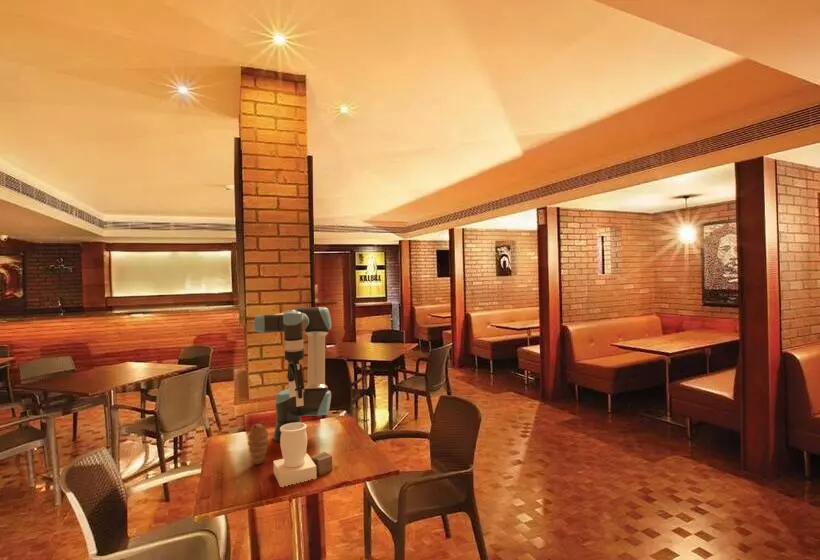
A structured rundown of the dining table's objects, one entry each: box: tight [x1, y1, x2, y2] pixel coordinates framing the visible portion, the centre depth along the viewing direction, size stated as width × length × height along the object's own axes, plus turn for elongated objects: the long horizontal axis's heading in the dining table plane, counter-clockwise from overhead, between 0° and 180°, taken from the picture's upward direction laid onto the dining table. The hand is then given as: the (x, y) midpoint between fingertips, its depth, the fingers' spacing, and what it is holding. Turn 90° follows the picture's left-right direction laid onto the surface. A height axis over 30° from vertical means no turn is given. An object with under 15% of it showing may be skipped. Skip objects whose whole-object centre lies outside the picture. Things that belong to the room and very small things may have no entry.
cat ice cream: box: [247, 420, 269, 465], centre depth 186 cm, size 9×8×18 cm
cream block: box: [273, 452, 318, 488], centre depth 174 cm, size 14×14×5 cm
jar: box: [279, 422, 308, 467], centre depth 174 cm, size 11×10×15 cm
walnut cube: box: [311, 451, 333, 476], centre depth 178 cm, size 6×6×6 cm
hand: (296, 401), depth 177 cm, fingers open, 13 cm apart
